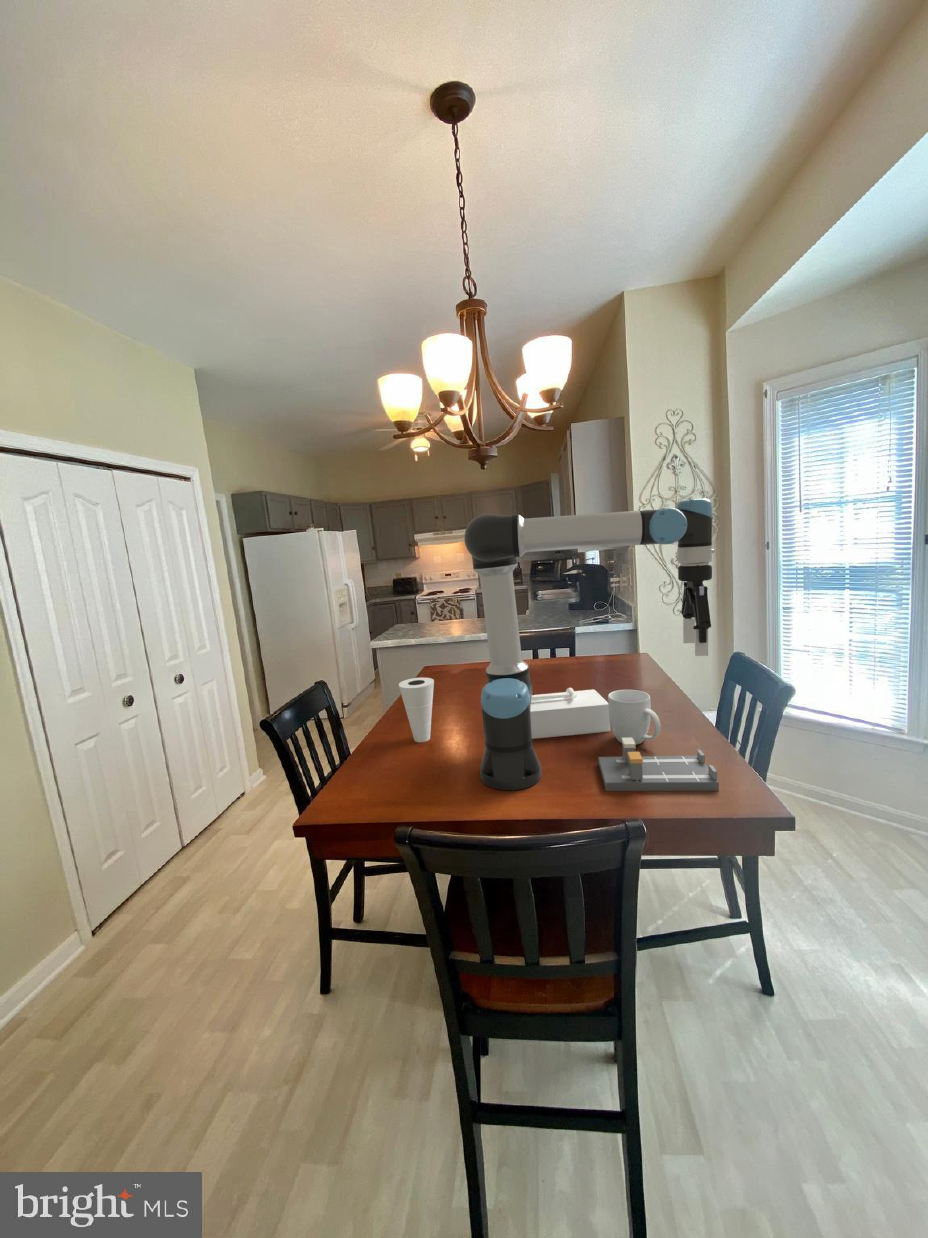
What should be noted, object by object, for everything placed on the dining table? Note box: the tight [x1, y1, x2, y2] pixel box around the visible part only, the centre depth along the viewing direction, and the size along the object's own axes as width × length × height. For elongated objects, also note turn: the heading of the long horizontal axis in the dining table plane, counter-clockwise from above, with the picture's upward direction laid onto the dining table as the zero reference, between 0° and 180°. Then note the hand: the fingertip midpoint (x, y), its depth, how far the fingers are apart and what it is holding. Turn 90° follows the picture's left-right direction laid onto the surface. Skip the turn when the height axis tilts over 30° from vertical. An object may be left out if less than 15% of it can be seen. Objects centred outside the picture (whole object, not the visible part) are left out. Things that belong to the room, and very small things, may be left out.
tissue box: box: [530, 687, 611, 740], centre depth 147 cm, size 14×25×11 cm, turn 92°
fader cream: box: [621, 738, 636, 763], centre depth 117 cm, size 3×4×5 cm
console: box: [598, 749, 720, 792], centre depth 113 cm, size 24×13×4 cm, turn 81°
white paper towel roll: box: [398, 677, 435, 743], centre depth 146 cm, size 11×11×18 cm
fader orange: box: [627, 751, 643, 780], centre depth 110 cm, size 3×4×5 cm
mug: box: [607, 689, 662, 745], centre depth 131 cm, size 15×11×13 cm
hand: (695, 649), depth 120 cm, fingers open, 13 cm apart
